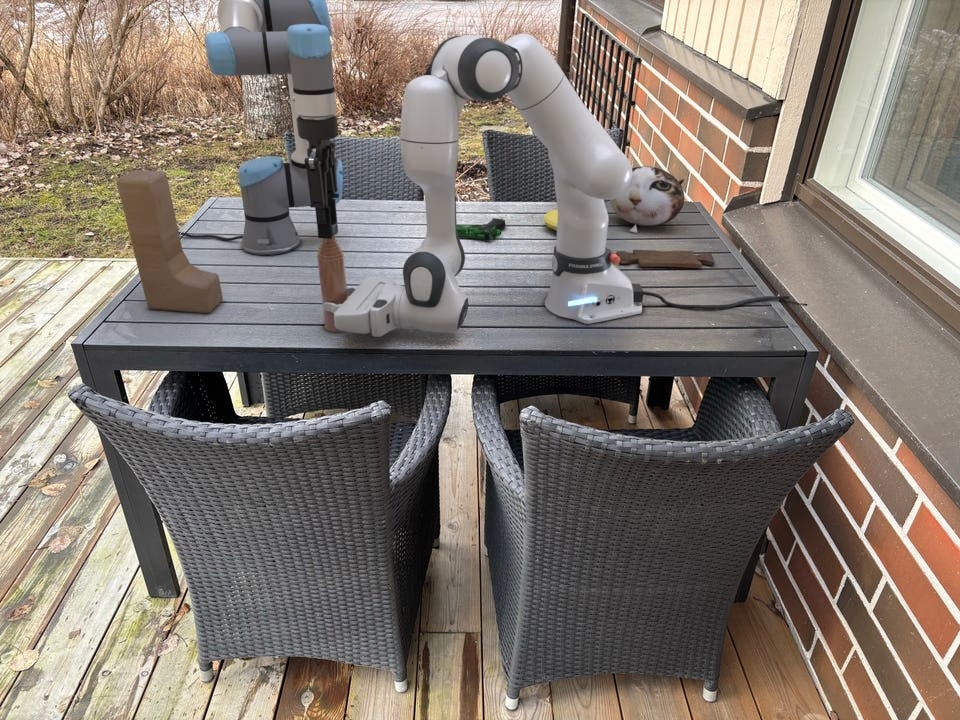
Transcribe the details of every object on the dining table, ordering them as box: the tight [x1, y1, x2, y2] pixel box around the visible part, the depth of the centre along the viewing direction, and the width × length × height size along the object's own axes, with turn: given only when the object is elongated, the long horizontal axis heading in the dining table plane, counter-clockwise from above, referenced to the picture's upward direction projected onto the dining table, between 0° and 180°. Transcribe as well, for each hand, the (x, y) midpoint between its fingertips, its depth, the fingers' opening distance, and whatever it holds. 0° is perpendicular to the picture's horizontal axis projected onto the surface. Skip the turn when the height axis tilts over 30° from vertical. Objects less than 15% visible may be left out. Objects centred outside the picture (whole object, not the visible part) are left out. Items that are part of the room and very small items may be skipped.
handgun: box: [457, 217, 506, 242], centre depth 207 cm, size 16×3×15 cm
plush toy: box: [609, 165, 685, 233], centre depth 210 cm, size 22×18×20 cm
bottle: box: [316, 235, 349, 333], centre depth 151 cm, size 6×6×23 cm
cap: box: [331, 220, 339, 236], centre depth 146 cm, size 4×4×2 cm
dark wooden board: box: [615, 249, 715, 269], centre depth 190 cm, size 26×2×10 cm
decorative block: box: [116, 169, 224, 314], centre depth 157 cm, size 8×15×30 cm, turn 82°
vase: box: [543, 209, 558, 232], centre depth 209 cm, size 16×16×7 cm
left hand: (328, 233), depth 146 cm, fingers closed on cap, 4 cm apart
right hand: (330, 298), depth 154 cm, fingers closed on bottle, 5 cm apart
